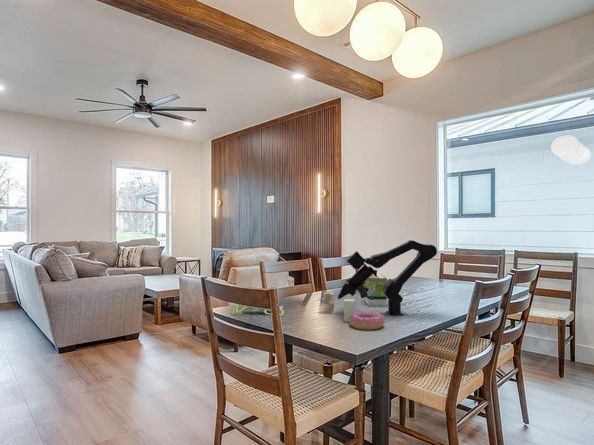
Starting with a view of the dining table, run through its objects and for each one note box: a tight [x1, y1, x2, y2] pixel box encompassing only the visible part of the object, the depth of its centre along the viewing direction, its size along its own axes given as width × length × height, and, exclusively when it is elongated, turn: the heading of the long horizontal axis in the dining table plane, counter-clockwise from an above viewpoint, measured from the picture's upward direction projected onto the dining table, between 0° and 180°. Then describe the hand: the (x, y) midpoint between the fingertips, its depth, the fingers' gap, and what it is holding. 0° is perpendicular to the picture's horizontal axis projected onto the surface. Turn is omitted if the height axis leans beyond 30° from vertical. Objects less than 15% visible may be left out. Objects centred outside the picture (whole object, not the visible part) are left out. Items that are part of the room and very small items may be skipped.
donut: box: [349, 310, 385, 331], centre depth 157 cm, size 14×14×5 cm
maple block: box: [323, 291, 335, 314], centre depth 182 cm, size 4×4×9 cm
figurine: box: [232, 303, 285, 317], centre depth 182 cm, size 18×27×6 cm
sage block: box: [343, 298, 356, 323], centre depth 165 cm, size 4×4×9 cm
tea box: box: [363, 273, 388, 307], centre depth 201 cm, size 15×10×15 cm, turn 179°
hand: (338, 298), depth 180 cm, fingers closed
